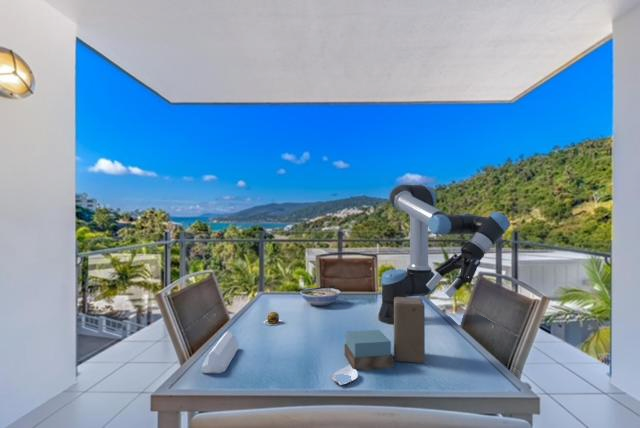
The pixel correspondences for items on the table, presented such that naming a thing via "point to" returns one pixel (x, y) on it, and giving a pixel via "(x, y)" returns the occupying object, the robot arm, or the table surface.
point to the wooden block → (409, 329)
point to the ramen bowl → (320, 295)
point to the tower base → (368, 361)
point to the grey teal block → (368, 343)
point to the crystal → (221, 354)
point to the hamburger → (273, 318)
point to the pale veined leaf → (346, 373)
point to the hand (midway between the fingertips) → (437, 291)
